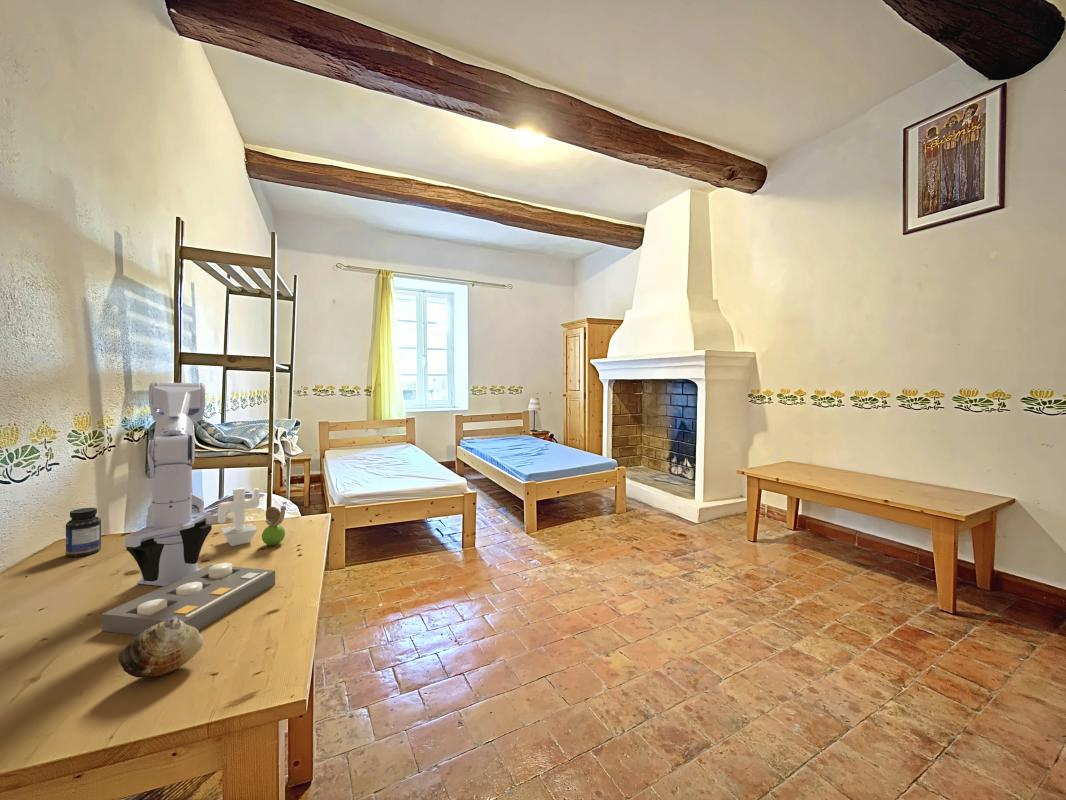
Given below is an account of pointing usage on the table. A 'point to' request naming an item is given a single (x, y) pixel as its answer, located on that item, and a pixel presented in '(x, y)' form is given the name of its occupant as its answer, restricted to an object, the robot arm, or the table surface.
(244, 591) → the switch console
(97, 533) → the pill bottle
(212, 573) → the button
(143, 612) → the button
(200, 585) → the button middle
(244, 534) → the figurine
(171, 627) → the seashell
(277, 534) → the snail figurine
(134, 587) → the table surface
